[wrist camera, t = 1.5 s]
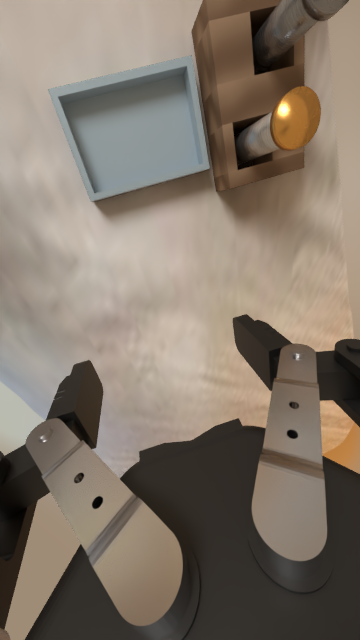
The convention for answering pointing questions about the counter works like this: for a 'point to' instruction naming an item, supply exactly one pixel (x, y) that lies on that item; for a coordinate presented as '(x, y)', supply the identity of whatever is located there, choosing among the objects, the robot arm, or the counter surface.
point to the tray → (134, 127)
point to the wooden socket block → (241, 86)
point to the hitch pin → (281, 126)
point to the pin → (288, 28)
